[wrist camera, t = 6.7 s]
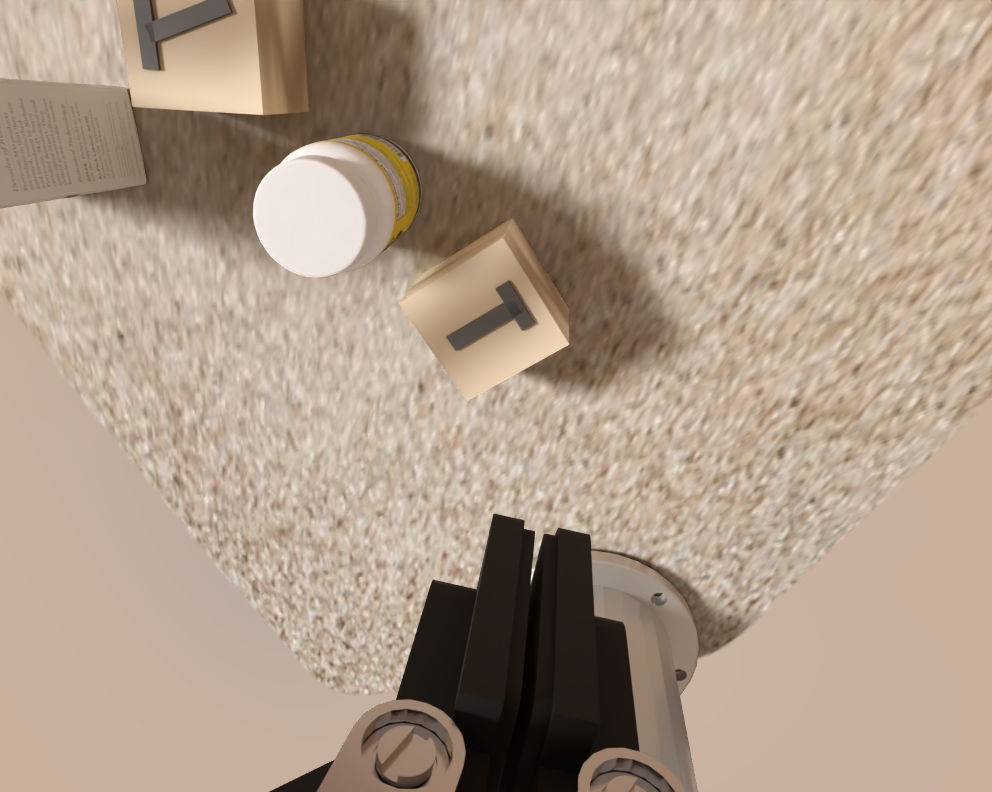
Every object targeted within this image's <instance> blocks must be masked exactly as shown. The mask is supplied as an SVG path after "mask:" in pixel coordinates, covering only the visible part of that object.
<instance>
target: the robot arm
mask: <svg viewBox="0 0 992 792" xmlns="http://www.w3.org/2000/svg"><path fill="white" fill-rule="evenodd" d="M534 539H535V531H531V530H526V529H524V520H521V519H516V518H511V517H507V516H502V515H498V514H493V518H492V523H491V527H490V532H489V536H488V541H487V545H486V550H485V554H484V559H483V563H482V568H481V572H480V577H479V581H478V586H477V589H472V588H468V587H463V586H459V585H454V584H450V583H445V582H441V581H436V580H433V581H432V583H431V586H430V589H429V592H428V596H427V599H426V602H425V606H424V609H423V612H422V615H421V619H420V622H419V625H418V629H417V632H416V635H415V639H414V642H413V645H412V649H411V652H410V655H409V658H408V662H407V665H406V668H405V672H404V675H403V678H402V682H401V685H400V688H399V691H398V695H397V698H396V700H392V701H389V702H386V703H383V704H379V705H377V706H375V707H374V708H372V709H371V710H369V711H368V712H366V713H364V714H363V715H362V717H361V718H360V719H359V720H358V722H357V723H356V724H355V725H354V727H353V728H352V730H351V732H350V733H349V735H348V737H347V739H346V741H345V742H344V744H343V746H342V748H341V749H340V751H339V753H338V755H337V757H336V758H335V760H333V761H331V762H329V763H327V764H325V765H323V766H321V767H319V768H317V769H315V770H313V771H311V772H309V773H306V774H305V775H302V776H300V777H299V778H297V779H294V780H292V781H290V782H288V783H286V784H284V785H282V786H280V787H278V788H276V789H274V790H272V791H270V792H698V790H697V785H696V780H695V774H694V769H693V763H692V758H691V753H690V747H689V743H688V737H687V732H686V727H685V721H684V716H683V710H682V705H681V700H680V695H681V693H682V692H683V691H684V689H685V687H686V686H687V685H688V683H689V682H690V680H691V678H692V676H693V673H694V671H695V668H696V665H697V659H698V652H699V646H698V637H697V631H696V627H695V623H694V620H693V616H692V613H691V611H690V609H689V607H688V605H687V603H686V601H685V600H684V598H683V597H682V595H681V594H680V593H679V592H678V591H677V589H676V588H675V587H674V586H673V585H672V584H671V583H670V582H669V581H668V580H666V579H665V578H664V577H663V576H661V575H660V574H659V573H658V572H656V571H655V570H653V569H651V568H649V567H647V566H645V565H643V564H642V563H640V562H638V561H635V560H632V559H629V558H626V557H623V556H620V555H617V554H612V553H606V552H600V551H591V538H590V535H589V534H584V533H579V532H575V531H570V530H566V529H561V528H558V529H557V532H556V534H555V536H554V535H549V534H544V536H543V539H542V543H541V546H540V550H539V554H538V558H536V559H533V551H534Z"/></svg>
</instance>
